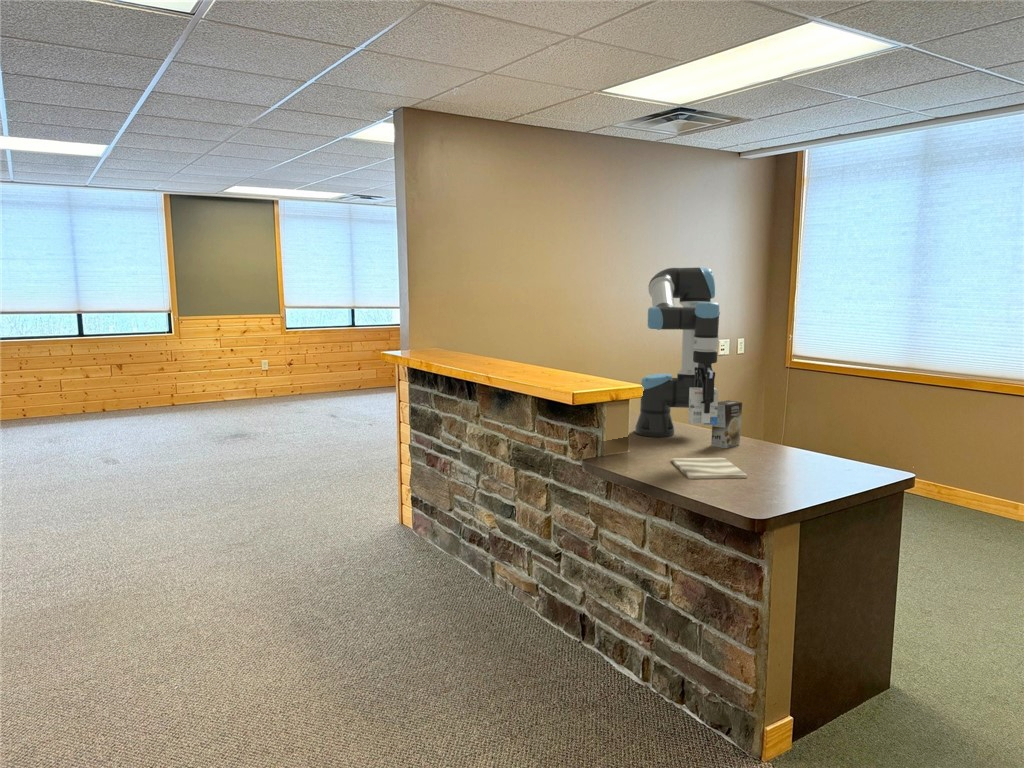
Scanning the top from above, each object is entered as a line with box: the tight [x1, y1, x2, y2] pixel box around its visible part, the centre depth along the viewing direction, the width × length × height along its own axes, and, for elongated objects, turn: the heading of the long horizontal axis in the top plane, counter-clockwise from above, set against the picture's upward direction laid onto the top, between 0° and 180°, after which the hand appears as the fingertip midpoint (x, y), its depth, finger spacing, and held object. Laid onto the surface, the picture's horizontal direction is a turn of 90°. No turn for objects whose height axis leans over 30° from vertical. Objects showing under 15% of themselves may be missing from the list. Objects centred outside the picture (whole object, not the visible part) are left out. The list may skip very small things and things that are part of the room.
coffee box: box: [710, 400, 743, 449], centre depth 250 cm, size 9×6×16 cm
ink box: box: [688, 387, 719, 426], centre depth 224 cm, size 9×5×12 cm, turn 84°
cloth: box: [670, 457, 748, 480], centre depth 220 cm, size 20×18×1 cm
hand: (702, 420), depth 225 cm, fingers closed on ink box, 5 cm apart
